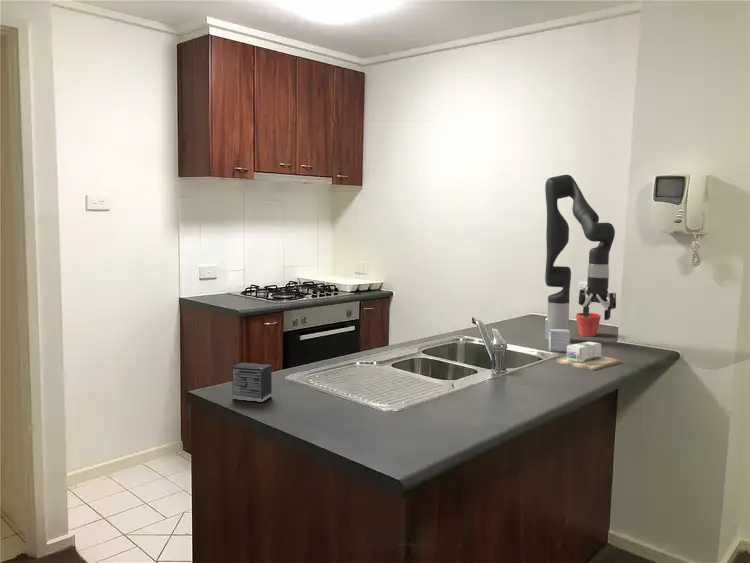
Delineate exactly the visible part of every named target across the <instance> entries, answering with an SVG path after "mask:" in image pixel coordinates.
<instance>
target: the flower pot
mask: <svg viewBox="0 0 750 563" xmlns="http://www.w3.org/2000/svg"><path fill="white" fill-rule="evenodd" d="M575 318H576V324H577V330H578V335H579V336H582V337H596V336H597V334H598V330H599V326H600V322H601V314H598V313H594V312H593V313H592V312H589V316H588V317H584V315H583V312H578V313H576V314H575Z"/></svg>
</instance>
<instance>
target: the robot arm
mask: <svg viewBox="0 0 750 563" xmlns="http://www.w3.org/2000/svg"><path fill="white" fill-rule="evenodd" d="M544 190H545V191H544V192H545V203H546V238H545V239H546V240H545V241H546V260H545V272H544V273H545V274H544V276H545V277H544V281H545V285H546V286H547V287H551V288H554V287H555V288H562V289H561V290H560V291H558V292H555V293H553V294H550V295H548V296H547V317H546V318H545V321H544V322H545V323H544V340H547V341H548V342H549V330H550V329H565V330H569V328H570V327H569V325H570V296H571V293H570V291H571V281H572V270H571V267H570V266H564V265H563V266H562V265H561V266H560V265H559V266H558V265H557V266H555V262H556V261H557V258H558V257H559V255H560V254H561V253H562V252H563V251H564V249H565V248H566V246H567V245H568V243H569V241H570V240H569V238H570V227H569V224H568V222H567V220H566V218H565V217H564V216H563V215H562V213H561V212H560V210H559V206H558V200H560V199H563V198H568V197H570V198H571V199H572V201H573V202H572V215H573V216H574V218H575V219H576V220H577V222H578V223H579V224H580V225H581V229H582V230H583V234H584V236H585V238H586V239H587V240H588V241H590V242H595V243H596V242H599V243H598V245H597V246H595V247H593V248H591V249H590V250H589V252H588V253H589V254H588V267H587V279H586V280H587V281H586V282H587V283H586V284H587V285H586V287H587V289H586V288H583V289H579V294H578V305H580V306H581V307H582V308H583V309H582V313H583V315H584V317H588V316H589V313H590V305H591V304H593V303H597V304H601V305H602V307H603V308H604V309H605V310H604V312H603V313H604V315H603V316H604V317H603V318H604V319H603V320H604V321H608V320H610V319H611V310H614V309H616V308H617V293H616V292H609V291H608V290H609V283H610V282H609V280H610V279H609V277H610V264H609V263H610V262H609V261H610V252H611V248H612V245H613V242H614V240H615V235H616V230H615V227H614V226H613V224H612V223H610V222H599V220H600V217H599V215H598V213H597V212H596V211H595V210H594V209H593V207H591V205H590V203H588V201H587V200H586V197H585V196H584V194H583V193H582V190H581V189H580V188H579V186H578V183H577V182H576V180H575V179H574V177H572V176H571V175H570V174H562V175H557V176H552V177H549V178H547V179H546V181H545V186H544ZM586 296H587V298H586ZM608 299H609V300H608Z"/></svg>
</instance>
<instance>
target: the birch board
mask: <svg viewBox="0 0 750 563" xmlns="http://www.w3.org/2000/svg"><path fill="white" fill-rule="evenodd" d="M621 361H622V359H617V358H612V357H607V356H603V355H601V358H598V359H593V360H589V361H584V362H575V361H570V360H567V356H564V357H560V358H556V359H555V358H554V362H555V363H558V364H562V365H567V366H571V367H575V368H578V369H580V368H581V369H584V370H589V371H596V370H599V369H603V368H605V367H606V368H607V367H610V366H614V365H618V364H620V363H621ZM621 364H622V363H621Z"/></svg>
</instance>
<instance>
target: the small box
mask: <svg viewBox="0 0 750 563" xmlns="http://www.w3.org/2000/svg"><path fill="white" fill-rule="evenodd" d="M231 372H232V374H231V375H232V383H231V384H232V396H233V395H236V396H243V397H252V398H261V399H263V398H264V397H266V396H268V395H269V394H271V393H273V392H272V388H273V387H272V386H273V385H272V365H271V364H261V363H252V362H251V363H250V362H240V363H238V364H236V365H235V364H234V365H232V366H231Z"/></svg>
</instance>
